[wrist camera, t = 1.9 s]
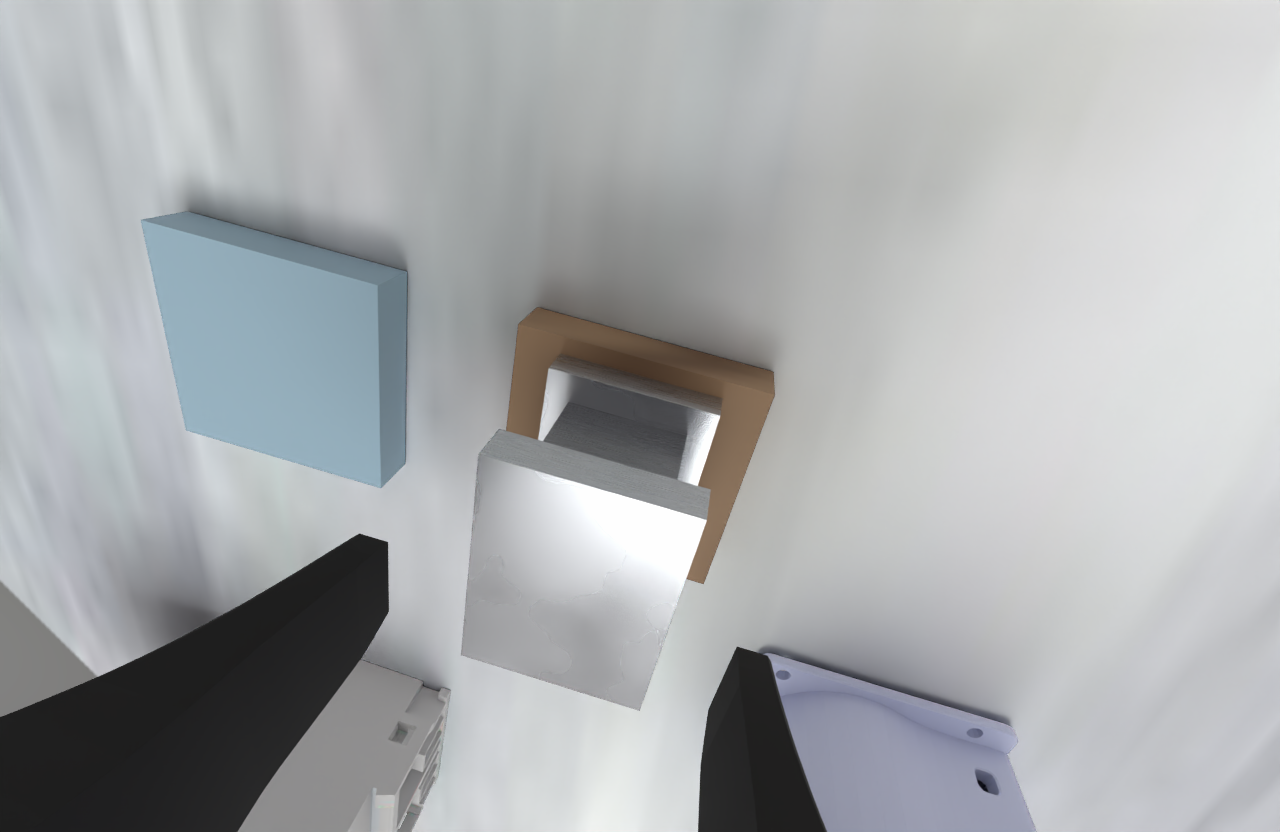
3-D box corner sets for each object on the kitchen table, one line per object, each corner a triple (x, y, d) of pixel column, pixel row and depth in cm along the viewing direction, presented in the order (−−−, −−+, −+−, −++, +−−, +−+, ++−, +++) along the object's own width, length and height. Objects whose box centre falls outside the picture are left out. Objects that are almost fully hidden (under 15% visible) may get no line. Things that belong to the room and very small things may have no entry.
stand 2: (773, 371, 16) (774, 395, 15) (707, 552, 20) (703, 584, 18) (537, 307, 17) (518, 324, 15) (512, 495, 20) (495, 522, 19)
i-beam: (722, 398, 15) (707, 520, 11) (669, 561, 18) (639, 710, 14) (560, 353, 16) (478, 454, 11) (533, 521, 18) (460, 654, 14)
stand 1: (407, 271, 17) (377, 285, 16) (404, 463, 20) (380, 488, 19) (187, 211, 17) (140, 219, 16) (222, 410, 21) (186, 430, 19)
